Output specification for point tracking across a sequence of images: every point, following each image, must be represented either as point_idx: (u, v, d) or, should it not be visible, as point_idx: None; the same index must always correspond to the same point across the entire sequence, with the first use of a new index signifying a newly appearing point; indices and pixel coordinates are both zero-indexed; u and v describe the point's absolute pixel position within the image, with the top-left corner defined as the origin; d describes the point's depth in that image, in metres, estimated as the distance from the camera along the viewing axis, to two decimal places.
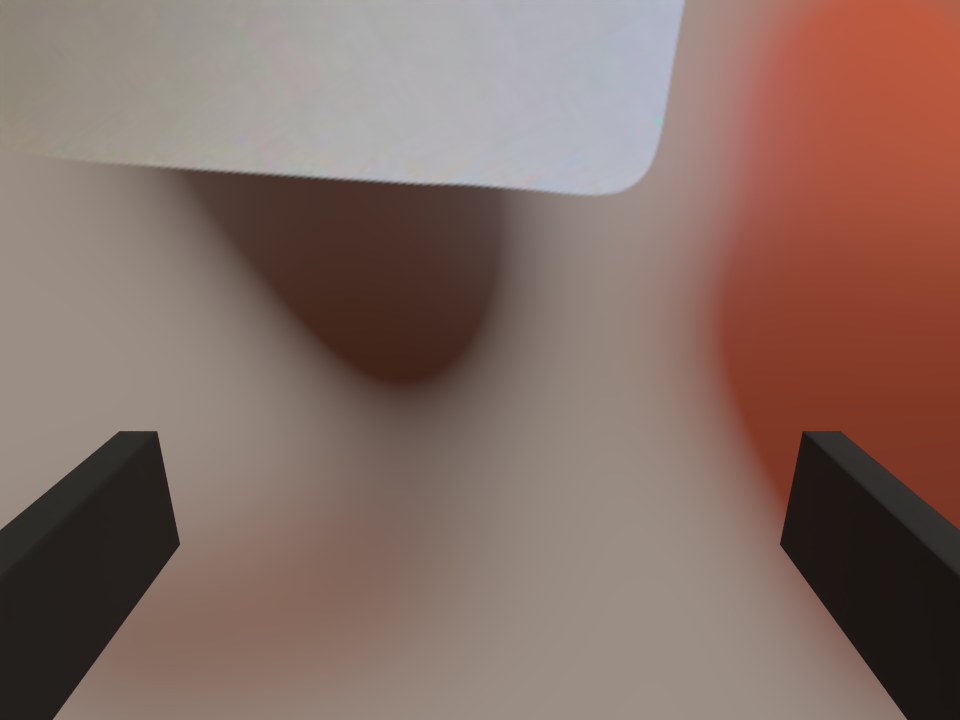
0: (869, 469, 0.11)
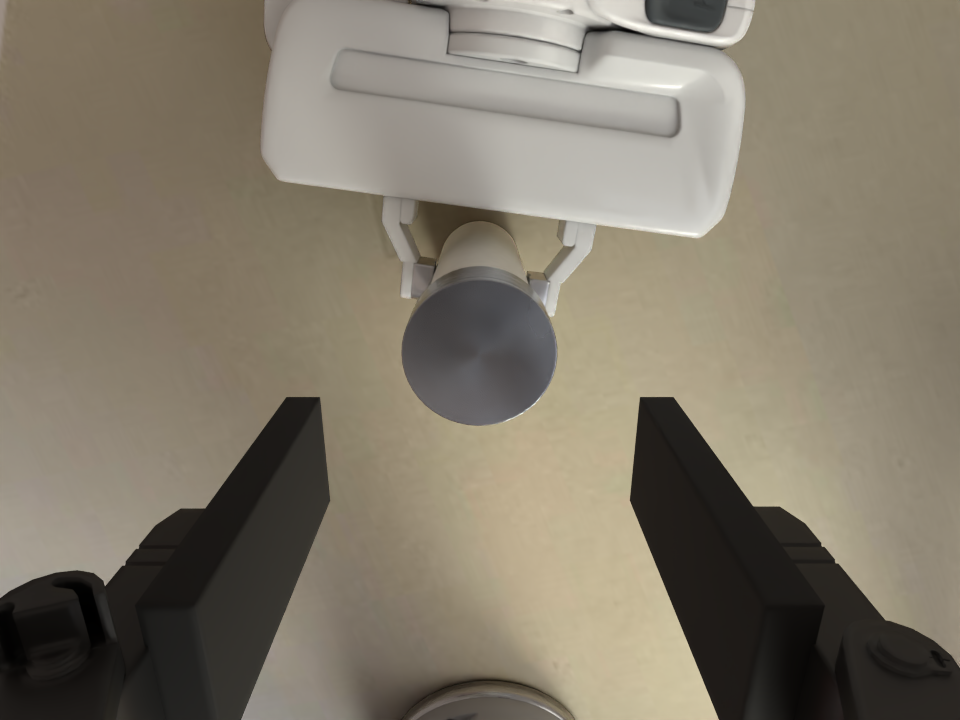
0: (680, 426, 0.12)
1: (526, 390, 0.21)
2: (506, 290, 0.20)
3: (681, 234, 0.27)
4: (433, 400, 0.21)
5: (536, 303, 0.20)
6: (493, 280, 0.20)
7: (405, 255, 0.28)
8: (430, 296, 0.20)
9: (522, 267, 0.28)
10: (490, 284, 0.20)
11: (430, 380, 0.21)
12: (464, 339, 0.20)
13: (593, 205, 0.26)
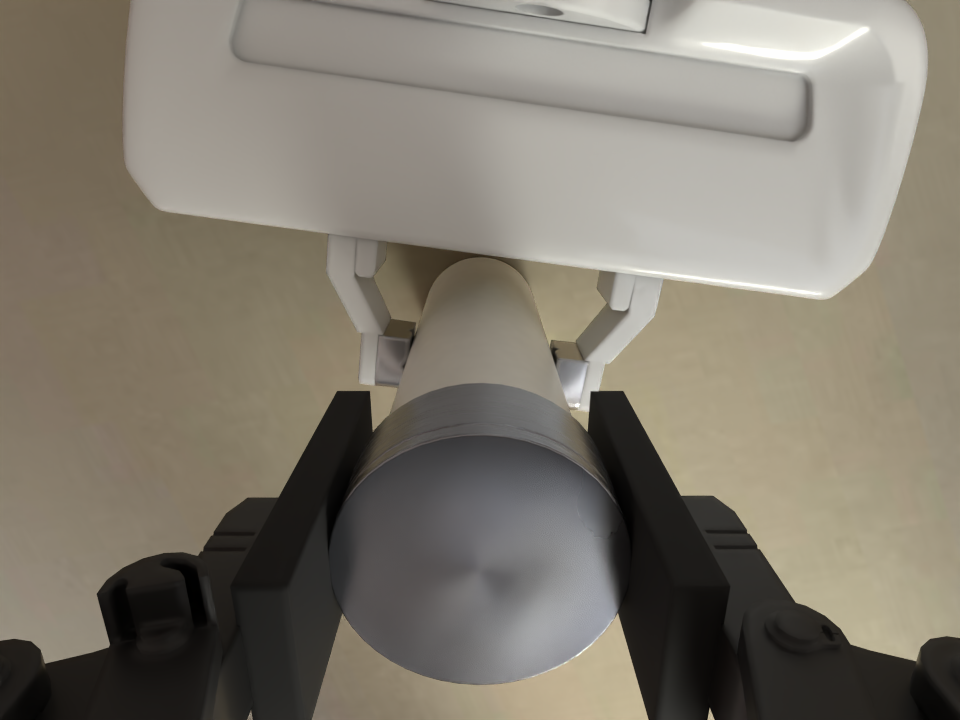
0: (623, 419, 0.13)
1: (570, 628, 0.11)
2: (535, 454, 0.10)
3: (800, 294, 0.17)
4: (392, 644, 0.11)
5: (595, 477, 0.10)
6: (508, 435, 0.10)
7: (365, 323, 0.18)
8: (381, 465, 0.10)
9: (546, 341, 0.18)
10: (502, 442, 0.10)
11: (385, 611, 0.11)
12: (450, 541, 0.10)
13: (663, 250, 0.16)
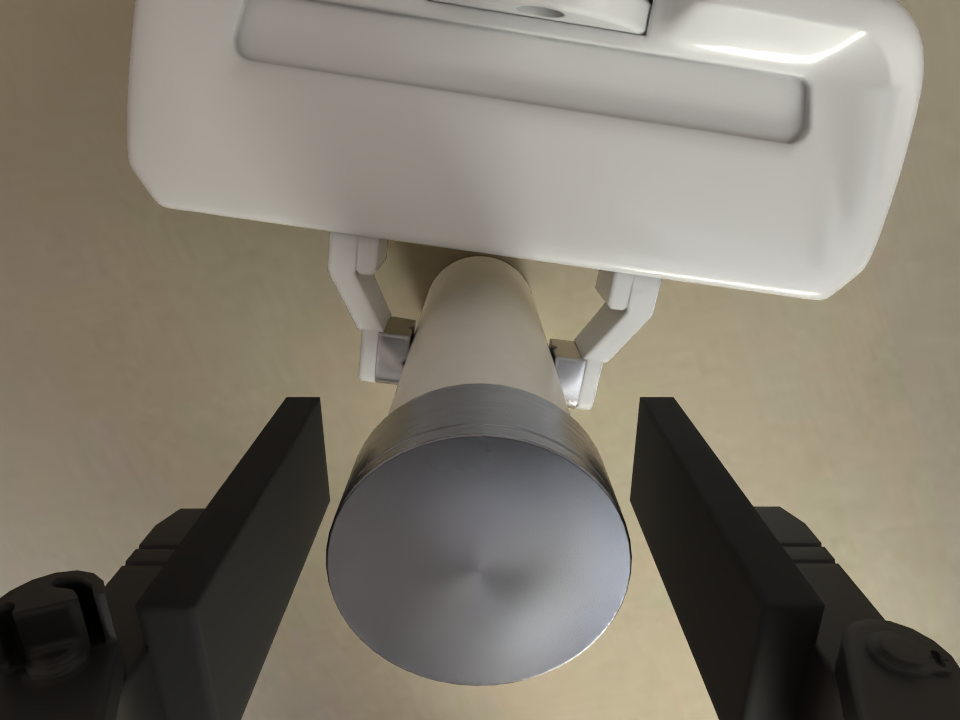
0: (680, 427, 0.12)
1: (586, 522, 0.10)
2: (371, 485, 0.10)
3: (796, 295, 0.17)
4: (527, 664, 0.11)
5: (419, 444, 0.10)
6: (345, 498, 0.10)
7: (365, 321, 0.18)
8: (335, 601, 0.11)
9: (545, 339, 0.19)
10: (350, 506, 0.10)
11: (488, 656, 0.11)
12: (436, 582, 0.10)
13: (661, 250, 0.17)
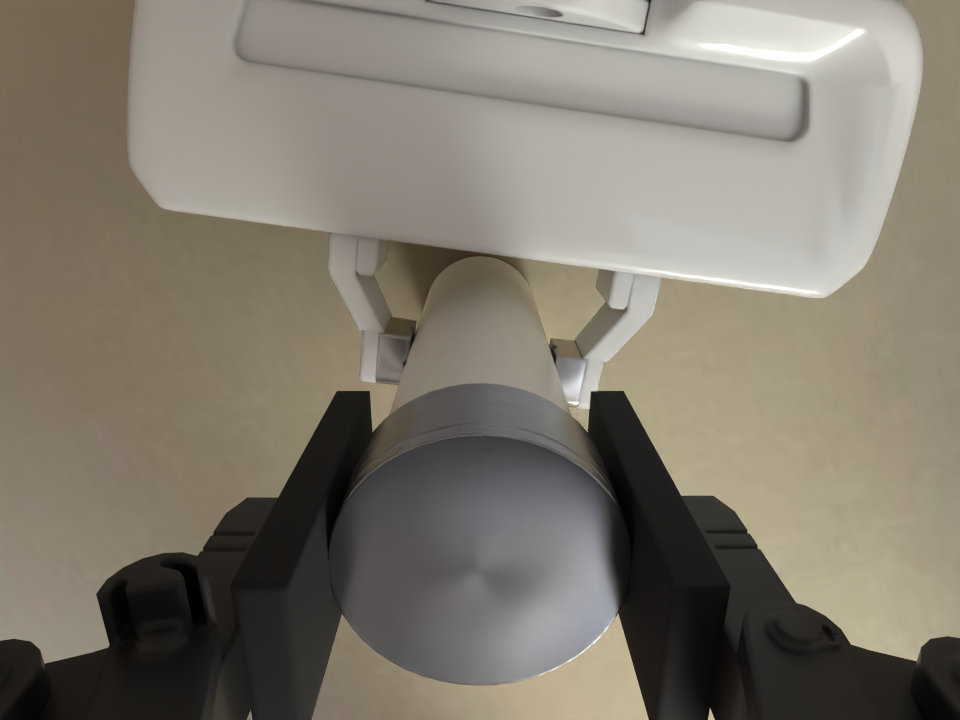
0: (624, 419, 0.13)
1: (587, 521, 0.10)
2: (372, 486, 0.10)
3: (796, 293, 0.17)
4: (529, 664, 0.11)
5: (420, 444, 0.10)
6: (346, 499, 0.10)
7: (366, 321, 0.18)
8: (337, 602, 0.11)
9: (545, 339, 0.19)
10: (351, 506, 0.10)
11: (490, 655, 0.11)
12: (438, 582, 0.10)
13: (661, 249, 0.17)
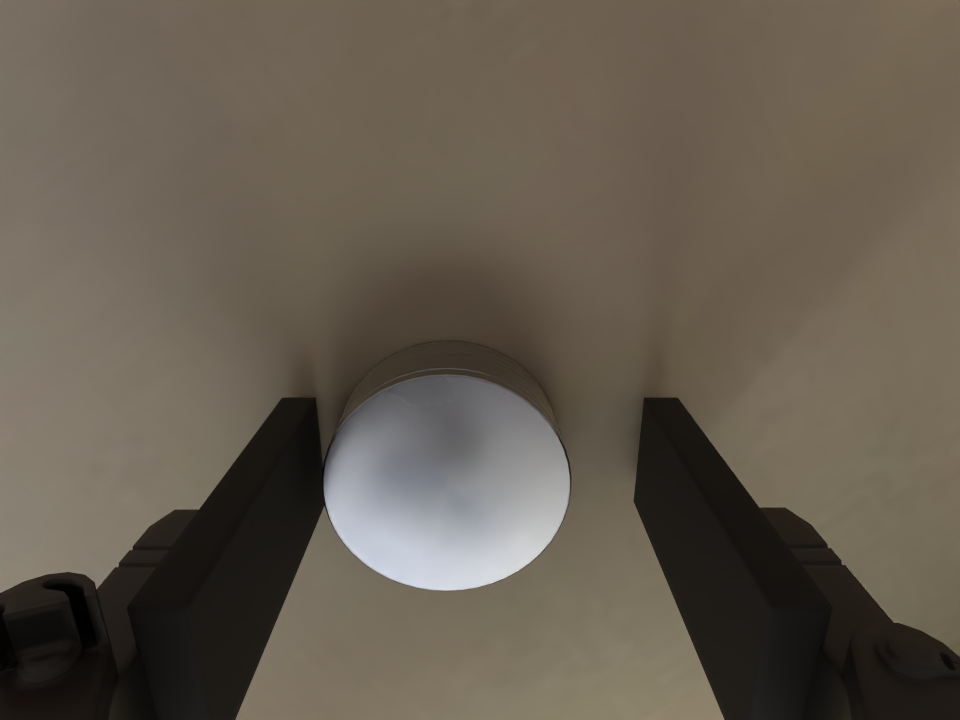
0: (684, 427, 0.12)
1: (533, 446, 0.12)
2: (358, 419, 0.12)
3: None
4: (490, 571, 0.13)
5: (396, 383, 0.12)
6: (337, 431, 0.12)
7: None
8: (330, 520, 0.13)
9: None
10: (341, 437, 0.12)
11: (457, 564, 0.13)
12: (413, 500, 0.13)
13: None
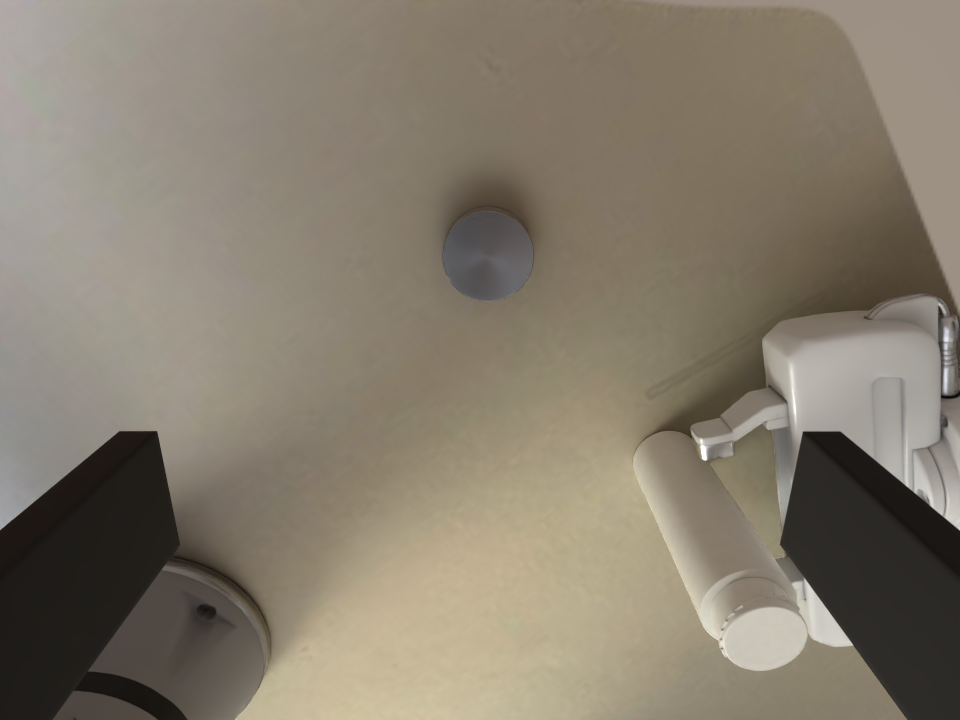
0: (869, 470, 0.11)
1: (519, 239, 0.34)
2: (457, 228, 0.34)
3: (813, 629, 0.36)
4: (503, 293, 0.36)
5: (471, 214, 0.34)
6: (449, 232, 0.34)
7: (738, 432, 0.33)
8: None
9: None
10: (450, 235, 0.34)
11: (491, 289, 0.35)
12: (475, 261, 0.35)
13: None
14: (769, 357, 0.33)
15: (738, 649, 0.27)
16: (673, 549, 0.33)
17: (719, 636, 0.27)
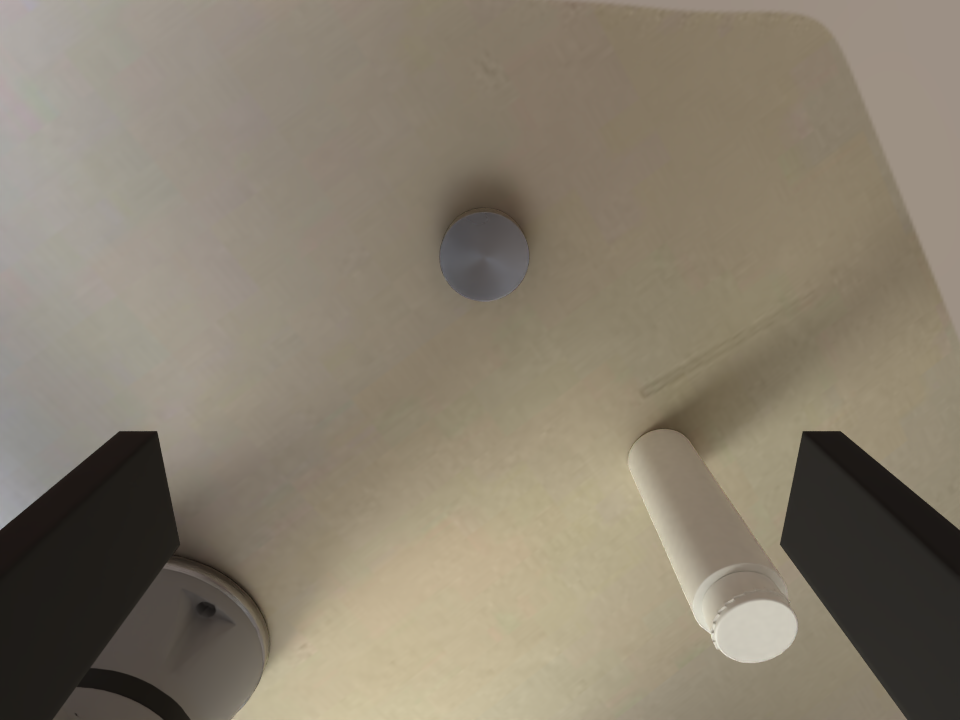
0: (869, 470, 0.11)
1: (515, 240, 0.35)
2: (454, 228, 0.35)
3: None
4: (499, 292, 0.36)
5: (467, 215, 0.35)
6: (446, 233, 0.35)
7: None
8: (441, 269, 0.36)
9: None
10: (447, 235, 0.35)
11: (487, 289, 0.36)
12: (471, 261, 0.35)
13: None
14: None
15: (730, 641, 0.28)
16: (667, 545, 0.33)
17: (711, 629, 0.28)
